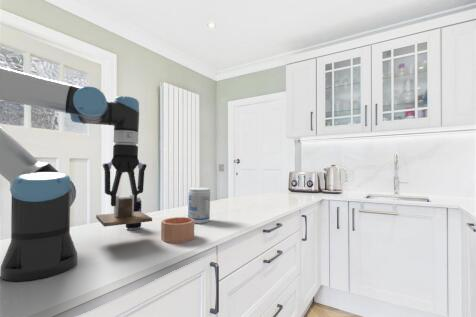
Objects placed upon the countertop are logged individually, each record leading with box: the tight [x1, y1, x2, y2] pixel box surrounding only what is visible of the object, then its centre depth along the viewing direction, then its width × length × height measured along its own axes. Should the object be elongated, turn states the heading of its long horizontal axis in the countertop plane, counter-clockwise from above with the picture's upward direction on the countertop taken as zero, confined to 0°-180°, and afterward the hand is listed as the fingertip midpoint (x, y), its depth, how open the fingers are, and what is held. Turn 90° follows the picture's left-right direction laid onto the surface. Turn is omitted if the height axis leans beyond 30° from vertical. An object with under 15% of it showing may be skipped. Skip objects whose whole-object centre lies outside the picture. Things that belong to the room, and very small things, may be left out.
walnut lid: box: [95, 196, 153, 227], centre depth 86 cm, size 14×14×7 cm
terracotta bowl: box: [160, 216, 195, 244], centre depth 91 cm, size 11×11×6 cm
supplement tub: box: [187, 186, 211, 224], centre depth 116 cm, size 10×10×15 cm
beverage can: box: [125, 196, 142, 231], centre depth 103 cm, size 6×6×12 cm
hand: (123, 215), depth 86 cm, fingers closed on walnut lid, 4 cm apart
